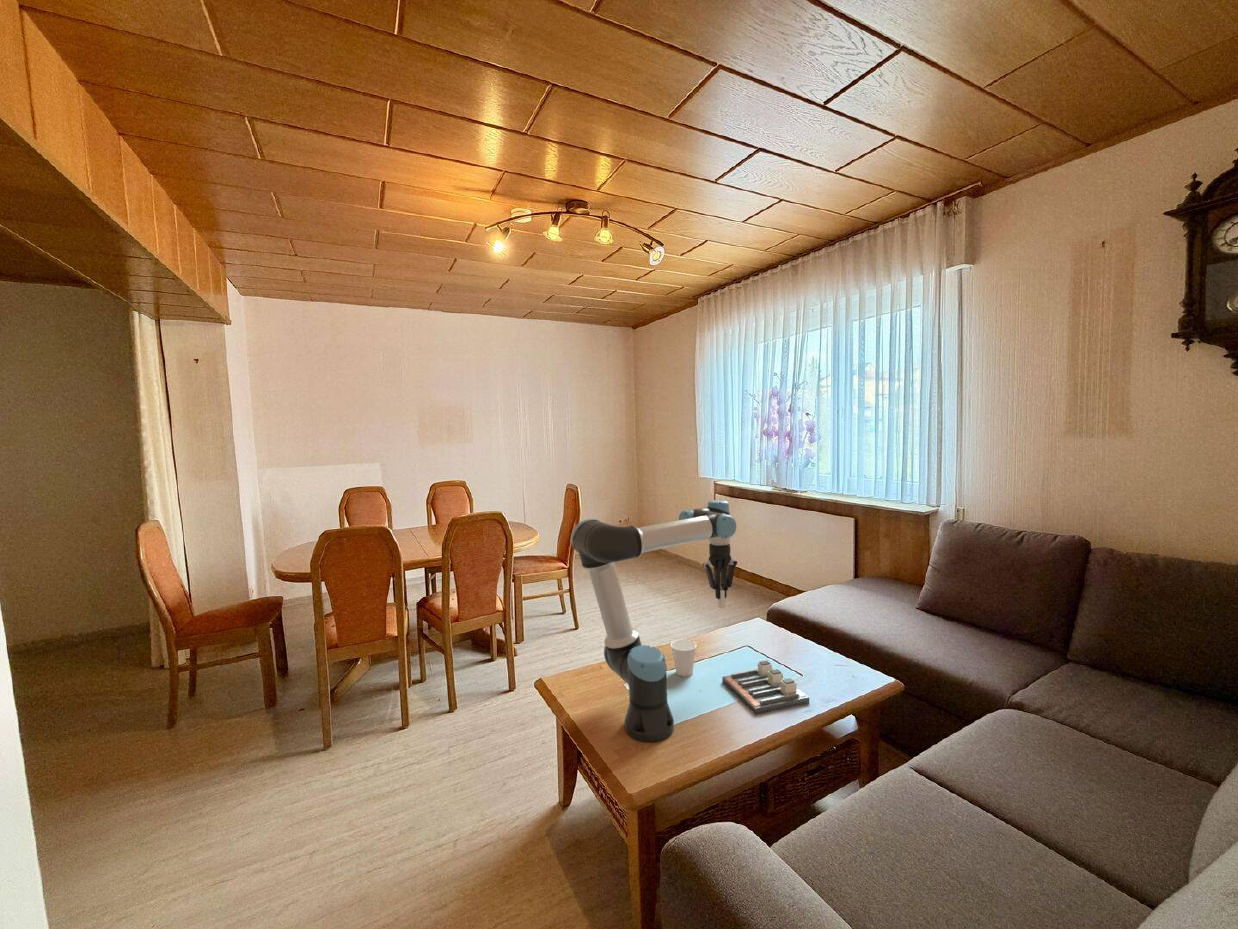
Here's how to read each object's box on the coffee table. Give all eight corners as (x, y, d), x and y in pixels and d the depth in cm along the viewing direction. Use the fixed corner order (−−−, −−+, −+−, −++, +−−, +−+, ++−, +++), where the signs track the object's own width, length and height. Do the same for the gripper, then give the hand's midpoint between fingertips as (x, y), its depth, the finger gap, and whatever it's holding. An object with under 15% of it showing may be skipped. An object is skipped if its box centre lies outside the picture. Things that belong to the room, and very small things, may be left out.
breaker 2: (773, 686, 167) (772, 674, 166) (768, 682, 169) (767, 670, 169) (783, 684, 168) (782, 672, 167) (778, 680, 170) (777, 668, 170)
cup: (697, 680, 177) (696, 651, 177) (670, 679, 179) (669, 649, 179) (698, 668, 187) (697, 640, 186) (672, 666, 189) (671, 638, 188)
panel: (755, 714, 154) (755, 705, 154) (722, 682, 175) (722, 673, 175) (809, 703, 159) (809, 693, 159) (770, 673, 181) (770, 664, 180)
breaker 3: (786, 696, 160) (785, 683, 160) (780, 692, 163) (780, 679, 163) (796, 694, 161) (796, 681, 161) (791, 690, 164) (790, 677, 164)
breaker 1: (762, 677, 173) (762, 665, 173) (757, 673, 176) (757, 661, 176) (772, 675, 174) (772, 663, 174) (767, 671, 177) (767, 659, 177)
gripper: (707, 547, 171) (709, 612, 172) (740, 543, 174) (742, 608, 175) (698, 542, 178) (700, 606, 179) (730, 539, 181) (732, 601, 183)
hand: (721, 607), depth 177 cm, fingers closed
